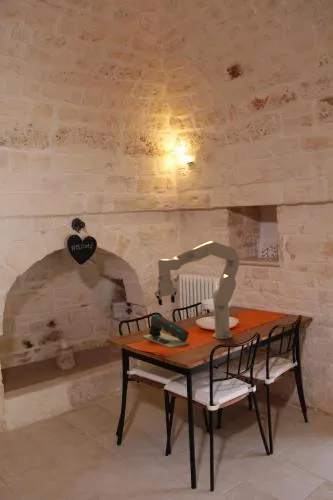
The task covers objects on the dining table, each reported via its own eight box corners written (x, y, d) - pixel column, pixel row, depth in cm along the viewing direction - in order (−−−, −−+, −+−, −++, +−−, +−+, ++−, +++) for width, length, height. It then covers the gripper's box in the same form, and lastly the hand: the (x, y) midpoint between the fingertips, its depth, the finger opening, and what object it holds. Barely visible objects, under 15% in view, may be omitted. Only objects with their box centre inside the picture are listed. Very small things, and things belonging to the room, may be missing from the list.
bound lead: (169, 342, 306) (169, 340, 305) (164, 344, 304) (164, 341, 303) (156, 338, 318) (156, 335, 318) (152, 339, 316) (152, 336, 316)
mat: (188, 343, 304) (188, 342, 304) (170, 348, 297) (170, 346, 297) (160, 333, 333) (160, 332, 333) (142, 337, 326) (142, 335, 326)
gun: (154, 331, 329) (157, 311, 325) (185, 351, 311) (190, 330, 307) (147, 333, 325) (151, 313, 320) (179, 353, 306) (183, 332, 302)
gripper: (156, 280, 305) (158, 306, 306) (179, 276, 314) (180, 302, 316) (150, 279, 311) (152, 305, 313) (172, 275, 320) (174, 300, 322)
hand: (166, 303), depth 314 cm, fingers open, 9 cm apart
